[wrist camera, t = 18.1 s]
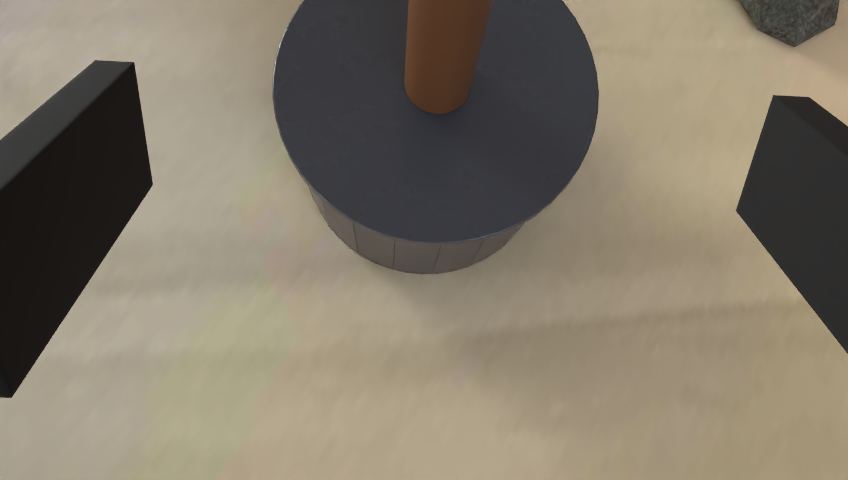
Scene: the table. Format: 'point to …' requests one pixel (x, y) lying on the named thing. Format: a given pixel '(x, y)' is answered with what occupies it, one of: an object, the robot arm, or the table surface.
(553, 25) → the lid
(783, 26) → the sword in stone
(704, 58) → the table surface
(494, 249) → the tin
